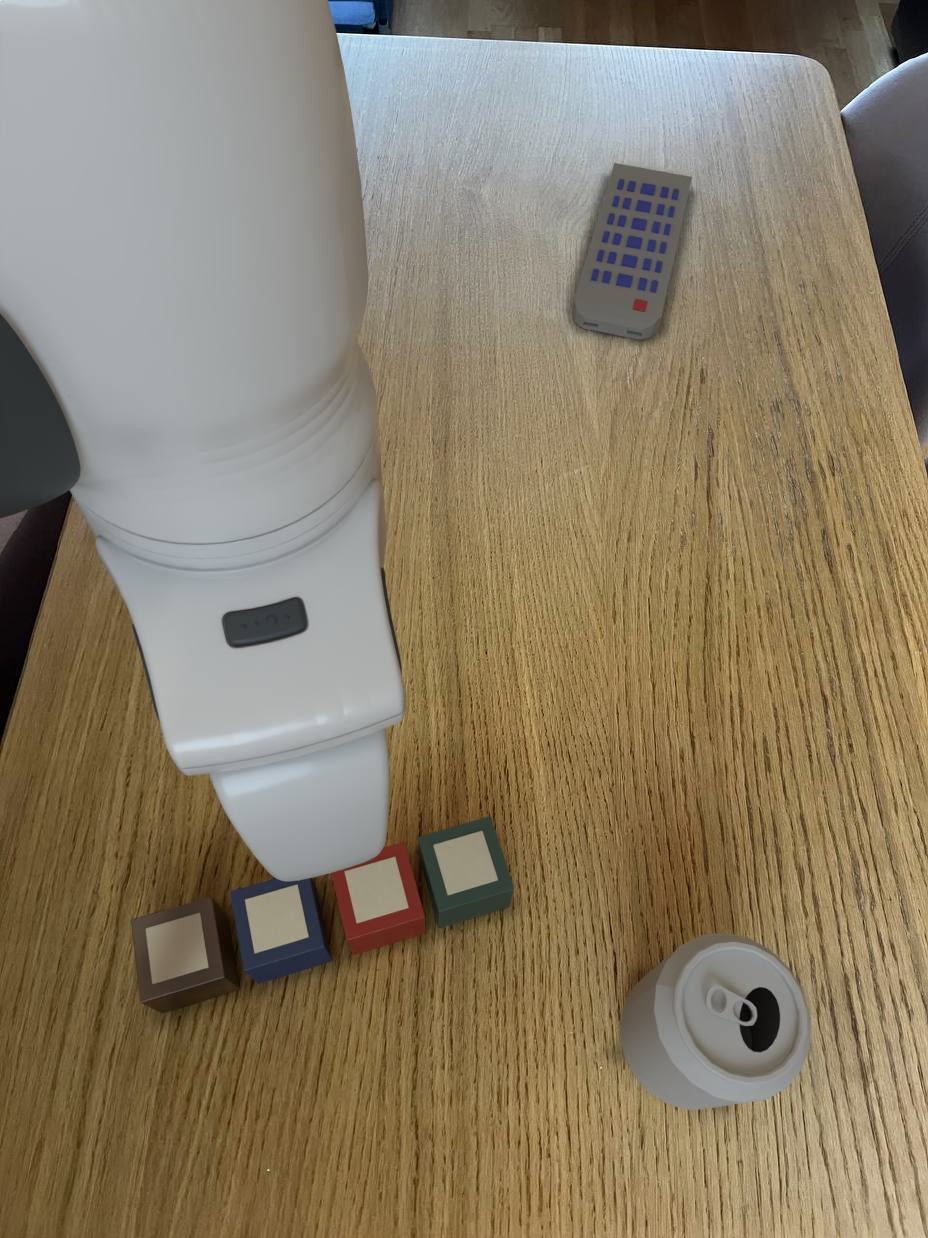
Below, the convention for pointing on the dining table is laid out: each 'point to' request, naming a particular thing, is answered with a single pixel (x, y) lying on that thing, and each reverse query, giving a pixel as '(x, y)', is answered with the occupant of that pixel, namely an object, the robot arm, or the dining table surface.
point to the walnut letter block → (184, 955)
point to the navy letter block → (280, 928)
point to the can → (716, 1024)
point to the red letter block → (379, 900)
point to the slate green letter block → (465, 871)
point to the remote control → (632, 252)
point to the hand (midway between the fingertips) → (294, 682)
